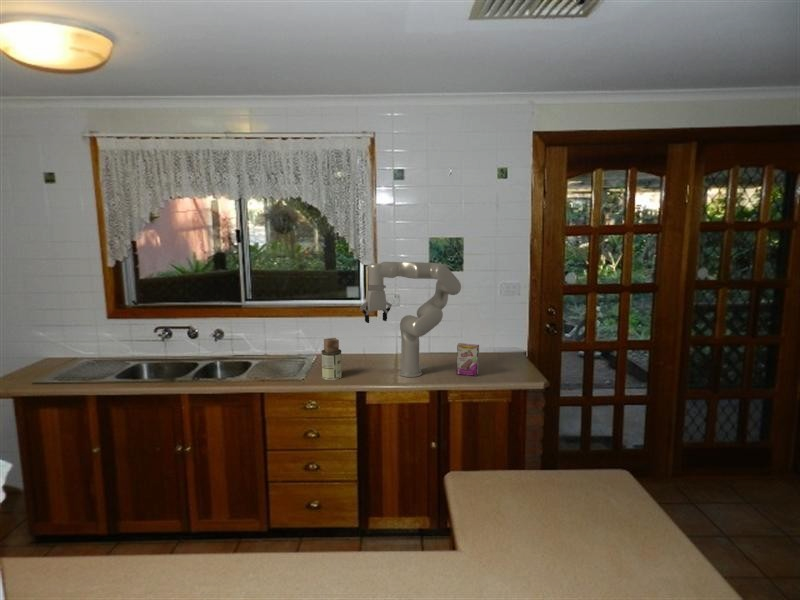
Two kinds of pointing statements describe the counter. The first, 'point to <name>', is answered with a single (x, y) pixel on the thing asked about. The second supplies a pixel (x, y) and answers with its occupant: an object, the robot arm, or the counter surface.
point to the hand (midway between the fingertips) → (376, 321)
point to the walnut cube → (331, 345)
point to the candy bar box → (467, 359)
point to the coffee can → (331, 365)
